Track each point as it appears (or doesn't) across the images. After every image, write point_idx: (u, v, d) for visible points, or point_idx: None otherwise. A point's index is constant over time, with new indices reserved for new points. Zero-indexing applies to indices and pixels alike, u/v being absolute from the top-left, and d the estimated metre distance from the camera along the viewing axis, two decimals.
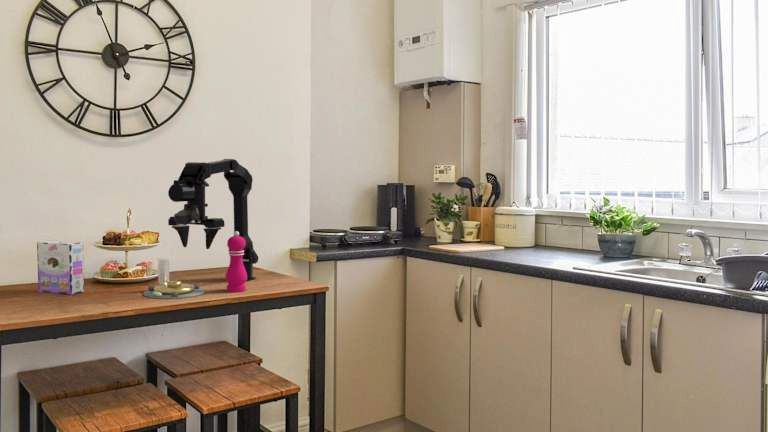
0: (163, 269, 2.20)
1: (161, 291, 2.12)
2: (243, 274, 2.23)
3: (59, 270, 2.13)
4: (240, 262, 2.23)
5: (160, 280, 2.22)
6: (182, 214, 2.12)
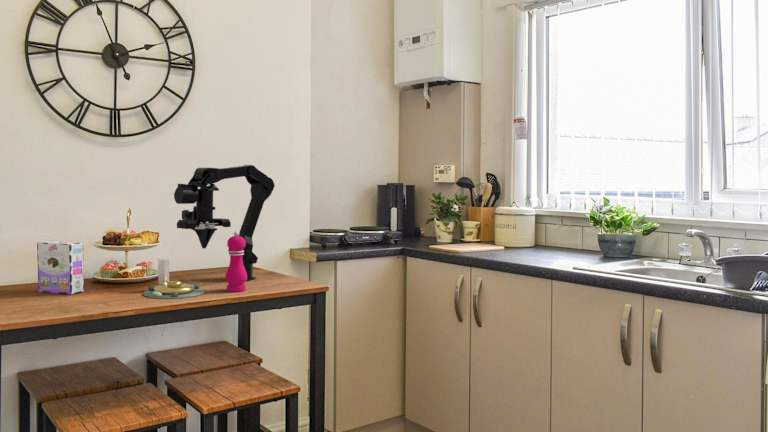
0: (163, 269, 2.20)
1: (161, 291, 2.12)
2: (243, 274, 2.23)
3: (59, 270, 2.13)
4: (240, 262, 2.23)
5: (160, 280, 2.22)
6: None
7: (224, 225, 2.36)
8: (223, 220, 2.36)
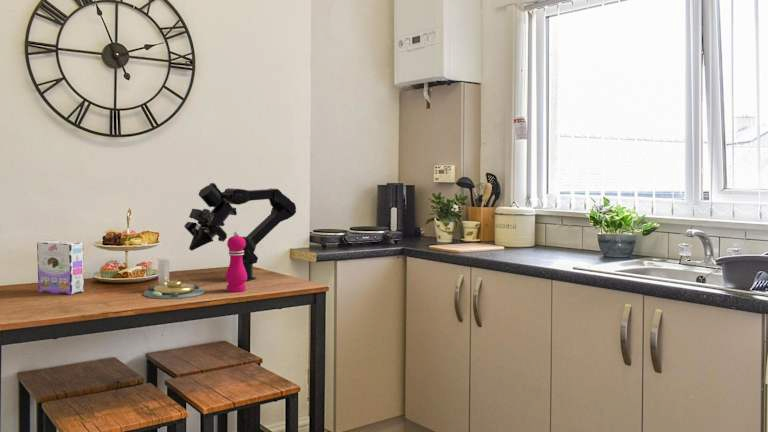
0: (163, 269, 2.20)
1: (161, 291, 2.12)
2: (243, 274, 2.23)
3: (59, 270, 2.13)
4: (240, 262, 2.23)
5: (160, 280, 2.22)
6: None
7: None
8: None
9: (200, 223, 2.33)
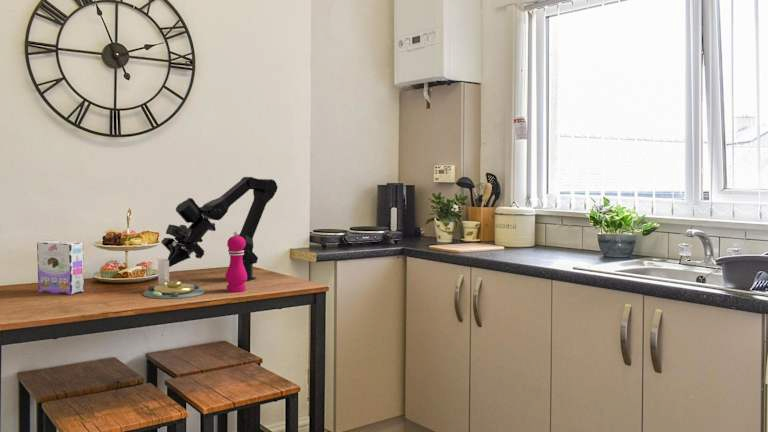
0: (163, 269, 2.20)
1: (161, 291, 2.12)
2: (243, 274, 2.23)
3: (59, 270, 2.13)
4: (240, 262, 2.23)
5: (159, 280, 2.22)
6: None
7: None
8: None
9: (177, 239, 2.26)
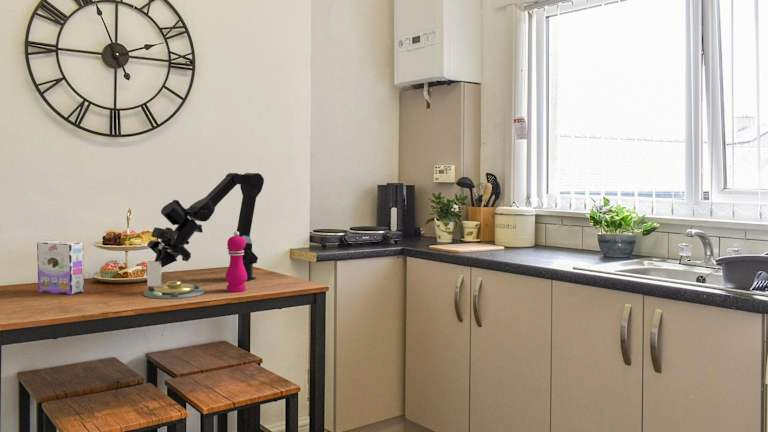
0: (157, 270, 2.17)
1: (175, 291, 2.12)
2: (243, 274, 2.23)
3: (59, 270, 2.13)
4: (240, 262, 2.23)
5: (150, 282, 2.17)
6: None
7: None
8: None
9: (163, 242, 2.22)
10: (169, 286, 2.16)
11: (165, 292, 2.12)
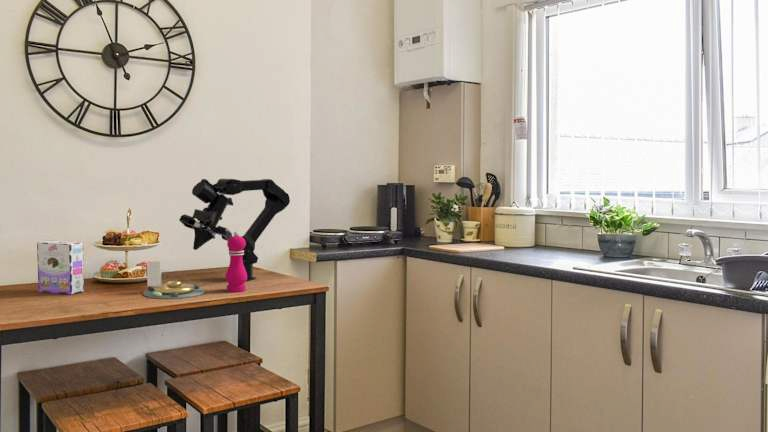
0: (157, 271, 2.17)
1: (175, 291, 2.12)
2: (243, 274, 2.23)
3: (59, 270, 2.13)
4: (240, 262, 2.23)
5: (150, 282, 2.17)
6: (203, 211, 2.27)
7: None
8: None
9: (201, 221, 2.31)
10: (169, 286, 2.16)
11: (165, 292, 2.12)
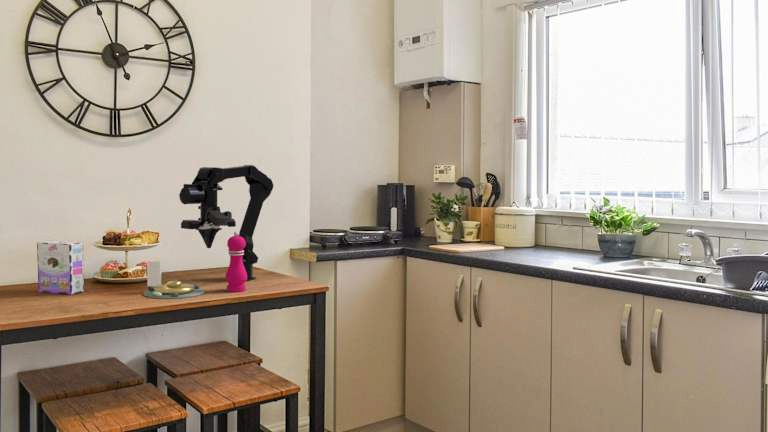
0: (157, 271, 2.17)
1: (175, 291, 2.12)
2: (243, 274, 2.23)
3: (59, 270, 2.13)
4: (240, 262, 2.23)
5: (150, 282, 2.17)
6: (223, 216, 2.27)
7: None
8: None
9: (210, 221, 2.29)
10: (169, 286, 2.16)
11: (165, 292, 2.12)
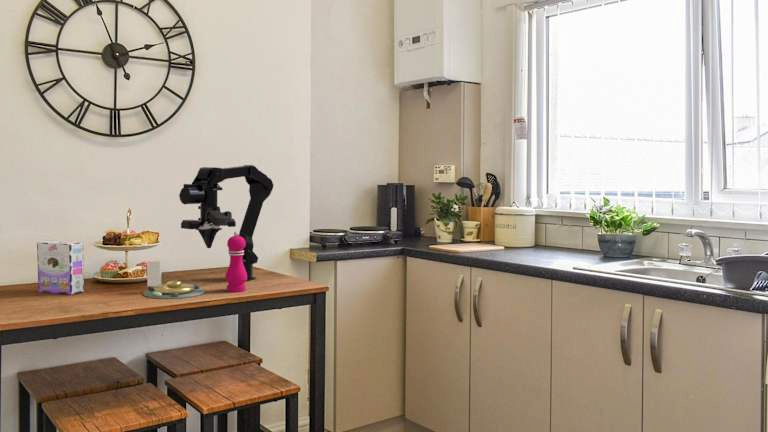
0: (157, 271, 2.17)
1: (175, 291, 2.12)
2: (243, 274, 2.23)
3: (59, 270, 2.13)
4: (240, 262, 2.23)
5: (150, 282, 2.17)
6: (223, 216, 2.27)
7: None
8: None
9: (210, 221, 2.29)
10: (169, 286, 2.16)
11: (165, 292, 2.12)
